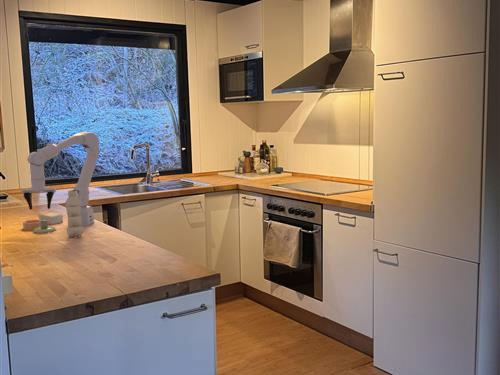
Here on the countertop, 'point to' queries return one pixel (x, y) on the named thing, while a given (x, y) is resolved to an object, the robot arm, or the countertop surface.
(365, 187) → the countertop surface
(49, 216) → the skincare box
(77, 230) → the plastic bottle
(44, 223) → the lid
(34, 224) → the bowl
